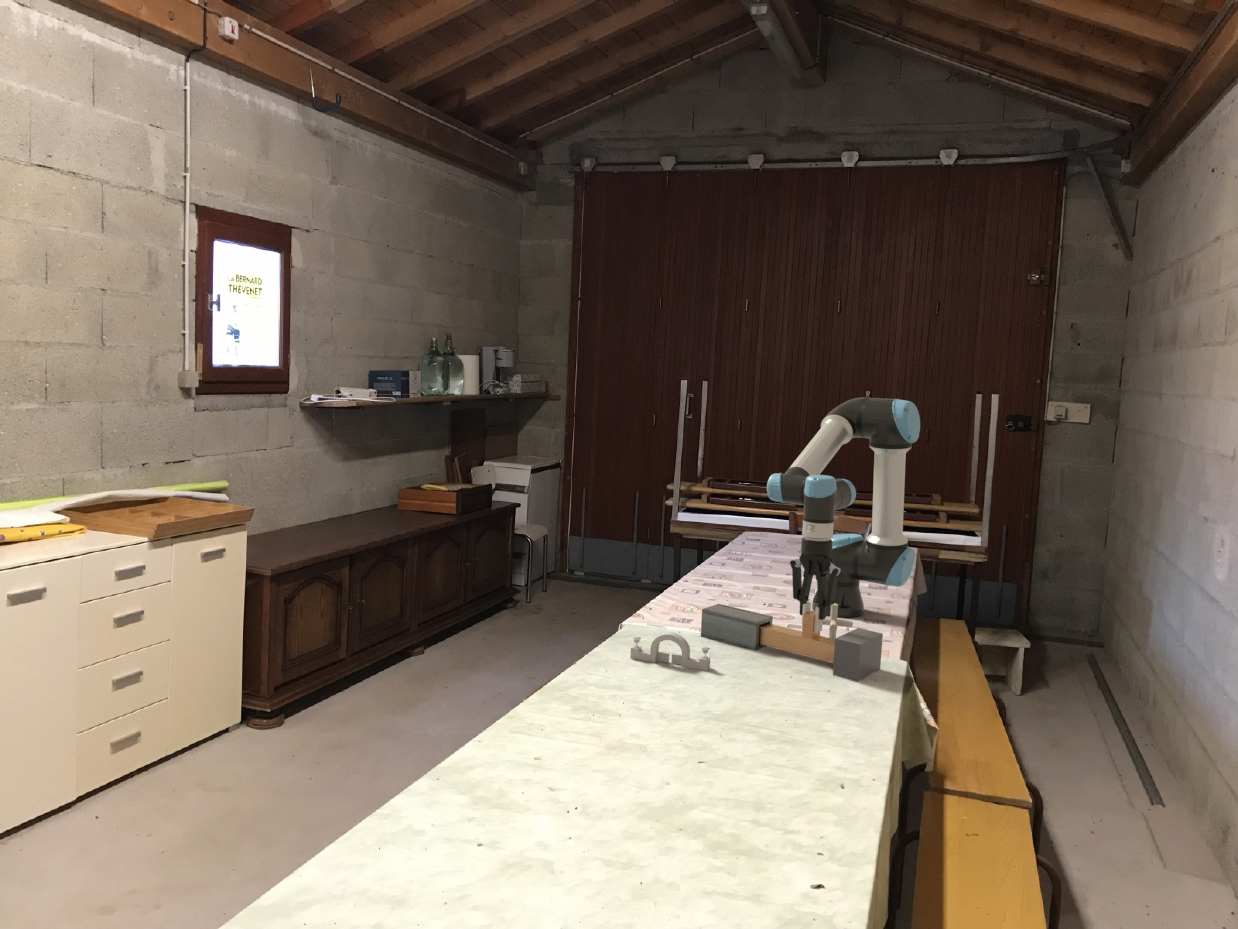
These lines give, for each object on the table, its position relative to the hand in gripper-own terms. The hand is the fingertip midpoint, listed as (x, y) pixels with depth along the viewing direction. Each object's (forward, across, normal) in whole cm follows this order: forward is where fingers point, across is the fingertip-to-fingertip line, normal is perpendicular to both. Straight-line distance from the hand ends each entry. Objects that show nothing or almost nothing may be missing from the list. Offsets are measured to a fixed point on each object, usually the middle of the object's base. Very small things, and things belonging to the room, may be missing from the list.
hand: (811, 629), depth 239 cm
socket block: (+8, +13, 0) cm, 15 cm away
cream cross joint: (+8, -4, +19) cm, 21 cm away
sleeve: (+8, -22, 0) cm, 23 cm away
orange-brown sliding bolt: (+6, -2, 0) cm, 7 cm away
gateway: (+8, -24, -27) cm, 37 cm away
